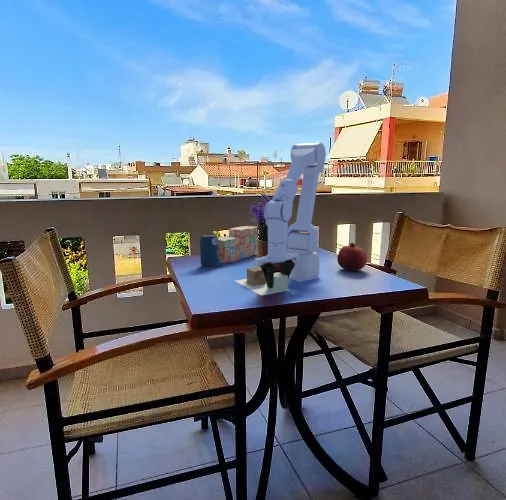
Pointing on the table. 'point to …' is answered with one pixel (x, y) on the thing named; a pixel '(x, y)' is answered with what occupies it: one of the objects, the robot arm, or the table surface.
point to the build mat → (256, 287)
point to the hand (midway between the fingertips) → (277, 286)
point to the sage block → (279, 282)
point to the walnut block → (255, 276)
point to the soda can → (209, 251)
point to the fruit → (352, 257)
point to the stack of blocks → (238, 244)
